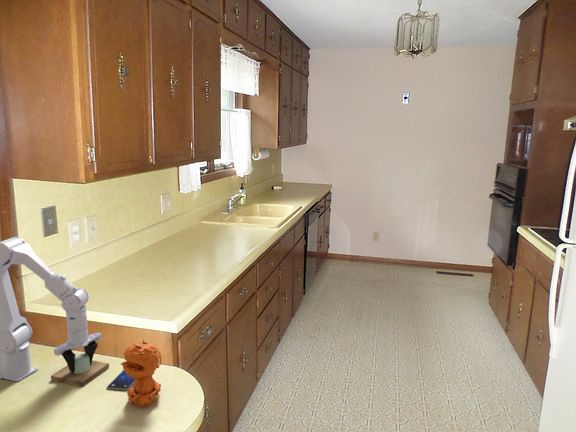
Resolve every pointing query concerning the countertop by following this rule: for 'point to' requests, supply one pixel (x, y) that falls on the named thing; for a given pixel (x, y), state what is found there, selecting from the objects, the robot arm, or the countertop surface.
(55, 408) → the countertop surface
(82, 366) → the cap
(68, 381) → the stub block
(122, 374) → the smartphone
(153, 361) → the toy dinosaur
